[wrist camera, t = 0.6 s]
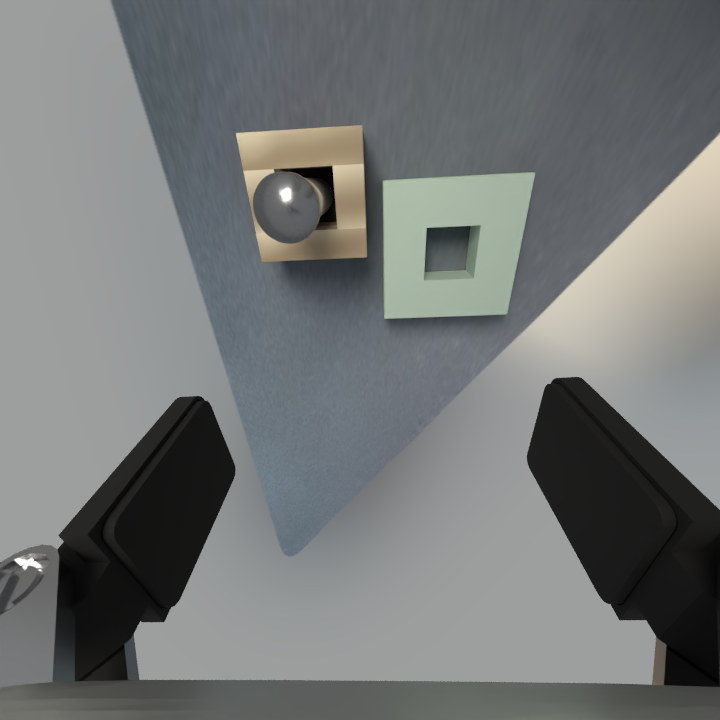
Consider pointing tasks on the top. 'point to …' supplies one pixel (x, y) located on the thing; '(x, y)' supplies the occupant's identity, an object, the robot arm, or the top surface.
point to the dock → (485, 249)
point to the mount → (307, 152)
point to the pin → (290, 205)
